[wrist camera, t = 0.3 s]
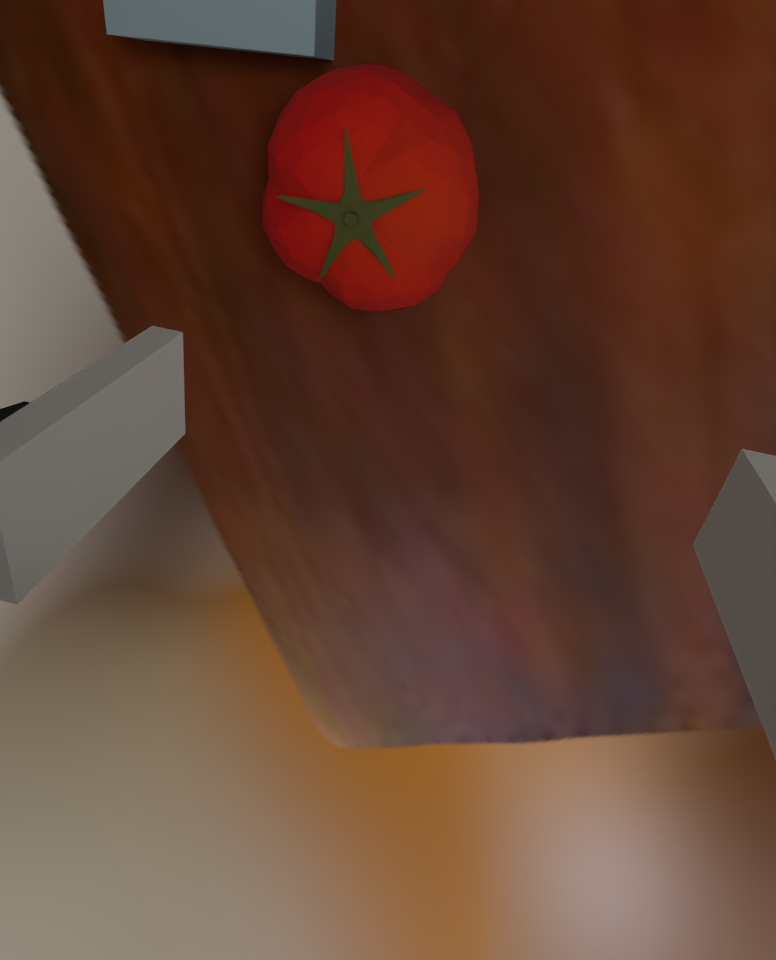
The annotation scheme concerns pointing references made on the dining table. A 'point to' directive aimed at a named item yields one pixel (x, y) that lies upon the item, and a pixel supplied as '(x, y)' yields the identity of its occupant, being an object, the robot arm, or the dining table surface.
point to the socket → (230, 24)
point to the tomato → (370, 187)
